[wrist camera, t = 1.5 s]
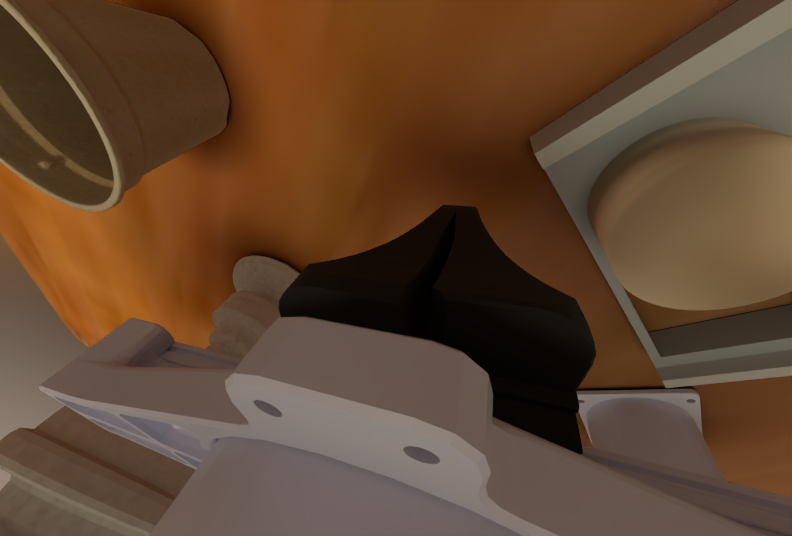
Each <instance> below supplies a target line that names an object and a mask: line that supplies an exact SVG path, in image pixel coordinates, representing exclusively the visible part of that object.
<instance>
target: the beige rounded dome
mask: <svg viewBox="0 0 792 536" xmlns="http://www.w3.org/2000/svg"><path fill="white" fill-rule="evenodd" d="M587 214H588V219H589V222H590V225H591V227H592V229H593V231H594V233H595V235H596V237H597V239H598V241H599V243H600V245H601V247H602V249H603V251H604V253H605V255H606V257H607V259H608V261H609V263H610V266H611V268H612V270H613V272H614V274H615V276H616V278H617V279H618V281H619V282H620V284H621V285H622V286H623V287H624V288H625V289H626V290H627V291H628V292H630V293H631V294H633V295H634V296H636V297H638V298H640V299H641V300H643V301H646V302H649V303H651V304H654V305H658V306H662V307H667V308H672V309H681V310H718V309H726V308H734V307H739V306H745V305H749V304H753V303H758V302H762V301H765V300H768V299H772V298H775V297H778V296H781V295H784V294H786V293H789V292H791V291H792V137H791V136H788V135H785V134H782V133H779V132H775V131H772V130H769V129H766V128H763V127H760V126H756V125H753V124H750V123H747V122H744V121H741V120H736V119H731V118H720V117H710V118H698V119H692V120H687V121H683V122H679V123H676V124H672V125H669V126H667V127H664V128H661V129H659V130H657V131H655V132H652V133H650V134H648V135H646V136H644V137H643V138H641V139H639V140H638V141H636V142H634V143H633V144H631V145H630V146H629V147H627V148H626V149H624V150H623V151H622V152H621V153H620V154H618V155H617V156H616V157H615V158H614V159H613V160H612V161H611V162H610V163H609V164H608V165H607V166H606V167H605V169H604V170H603V171H602V172H601V174H600V175H599V177H598V178H597V180H596V181H595V183H594V185H593V187H592V190H591V192H590V195H589V199H588V205H587Z"/></svg>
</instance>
